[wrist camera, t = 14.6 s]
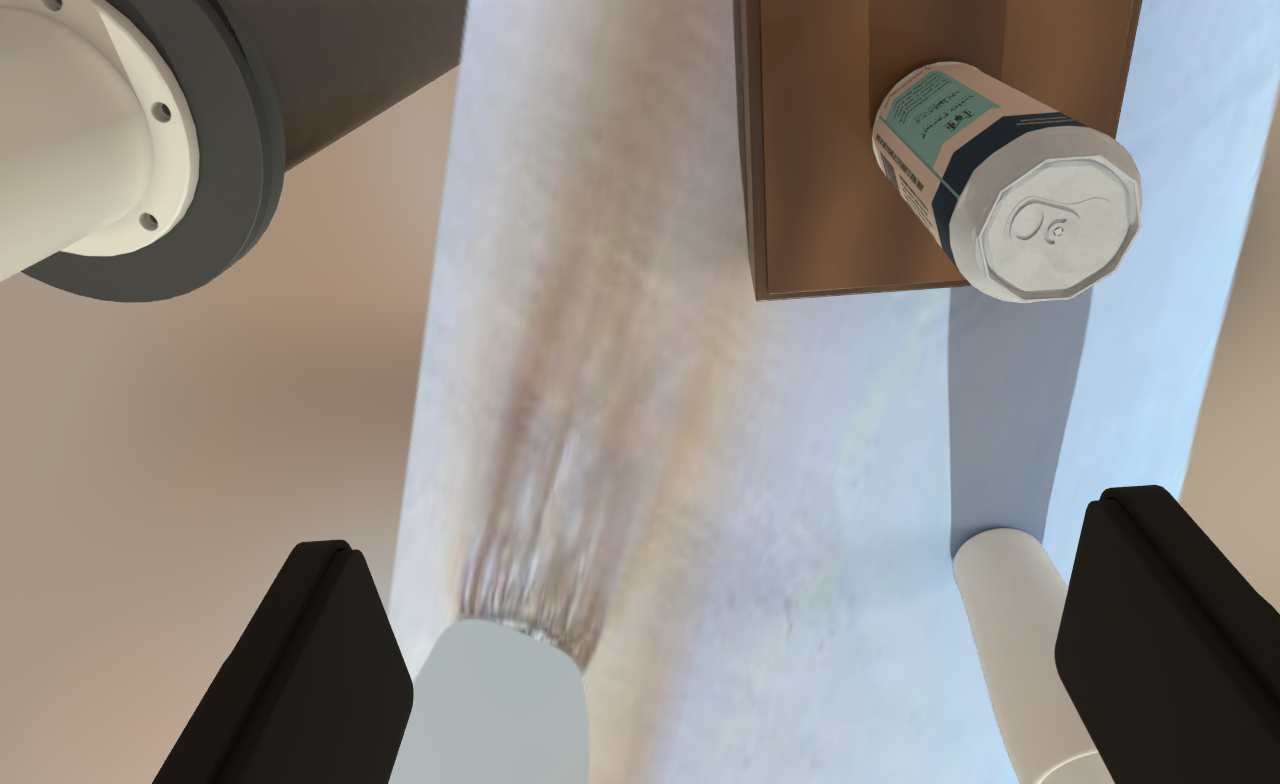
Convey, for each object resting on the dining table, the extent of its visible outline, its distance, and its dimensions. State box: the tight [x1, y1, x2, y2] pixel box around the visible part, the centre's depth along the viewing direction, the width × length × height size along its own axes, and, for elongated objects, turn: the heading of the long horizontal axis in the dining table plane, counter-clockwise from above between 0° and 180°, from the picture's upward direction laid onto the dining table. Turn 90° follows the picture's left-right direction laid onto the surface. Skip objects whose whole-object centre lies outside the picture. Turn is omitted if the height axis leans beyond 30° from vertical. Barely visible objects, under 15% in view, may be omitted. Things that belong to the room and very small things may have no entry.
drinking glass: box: [952, 528, 1115, 784], centre depth 41 cm, size 7×7×15 cm
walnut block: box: [740, 0, 1142, 301], centre depth 32 cm, size 14×14×5 cm
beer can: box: [872, 62, 1142, 303], centre depth 25 cm, size 5×5×12 cm
